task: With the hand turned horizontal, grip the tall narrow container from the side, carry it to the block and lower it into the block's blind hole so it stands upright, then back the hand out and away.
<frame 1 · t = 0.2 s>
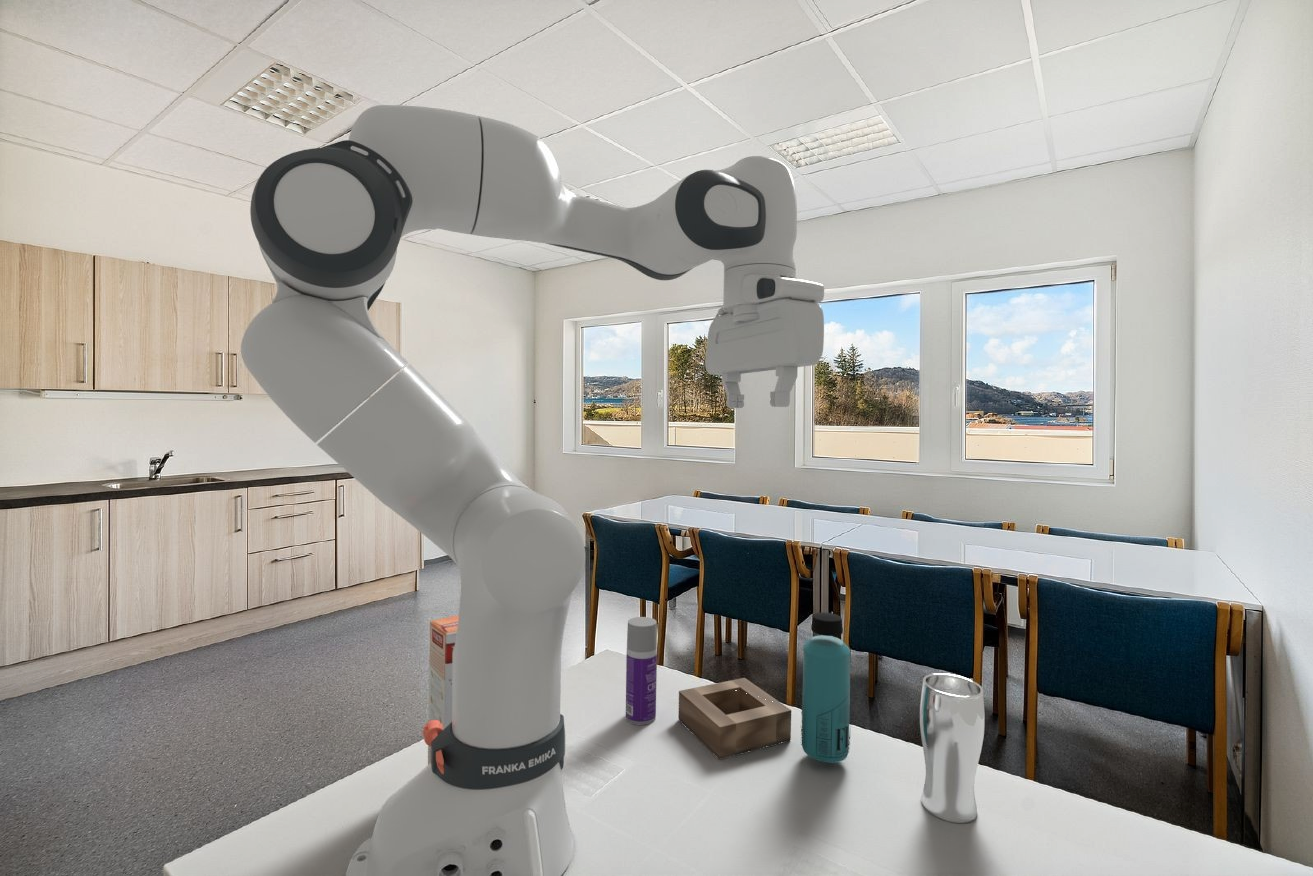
hand: (756, 407, 77), 48 cm above the table, tool pointing down, fingers open, 8 cm apart
beverage bottle: (824, 762, 83), on the table
socket block: (732, 730, 91), on the table
cracker box: (489, 777, 79), on the table
beer glass: (948, 808, 74), on the table
container: (640, 718, 95), on the table
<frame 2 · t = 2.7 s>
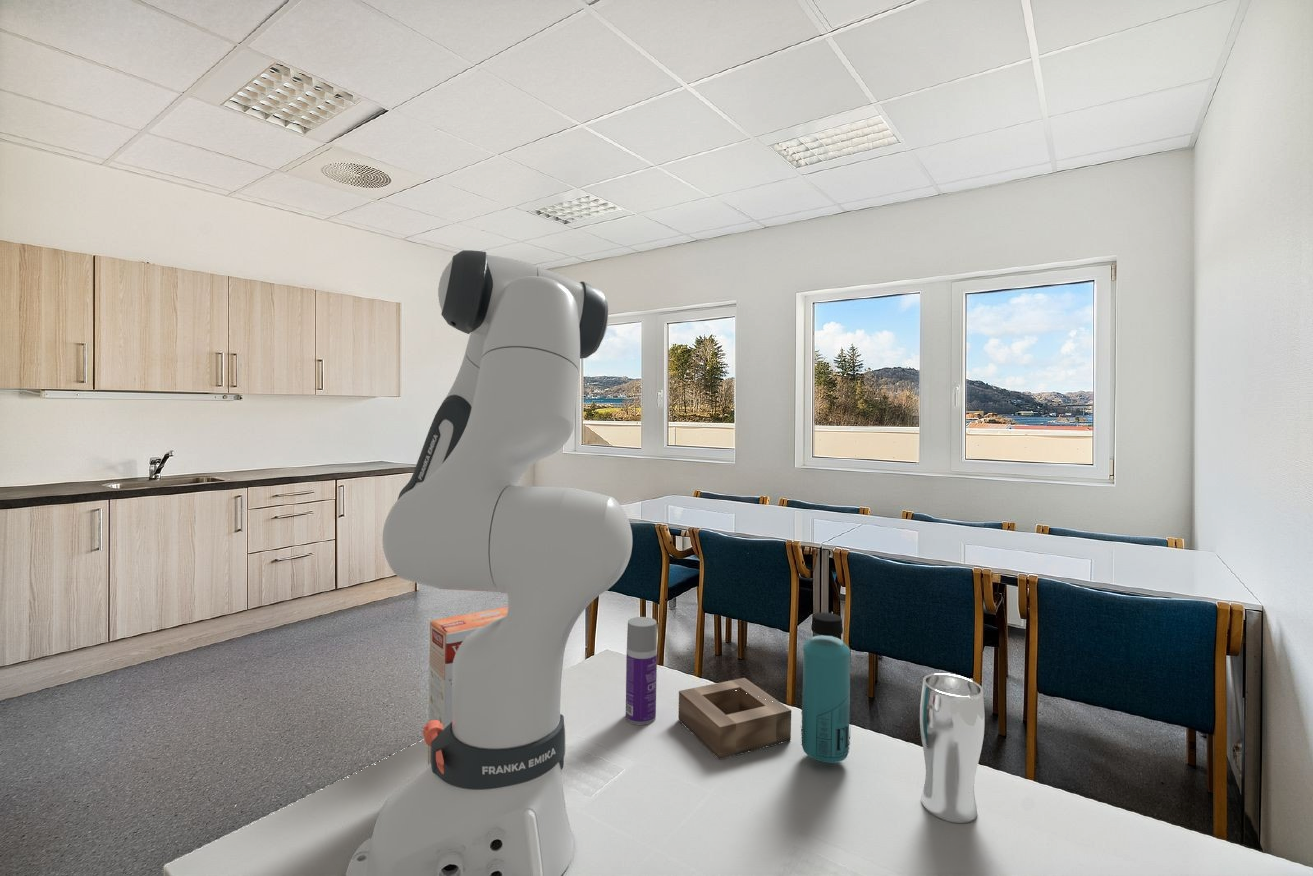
hand: (580, 551, 99), 25 cm above the table, tool horizontal, fingers open, 8 cm apart
nothing on the table moved.
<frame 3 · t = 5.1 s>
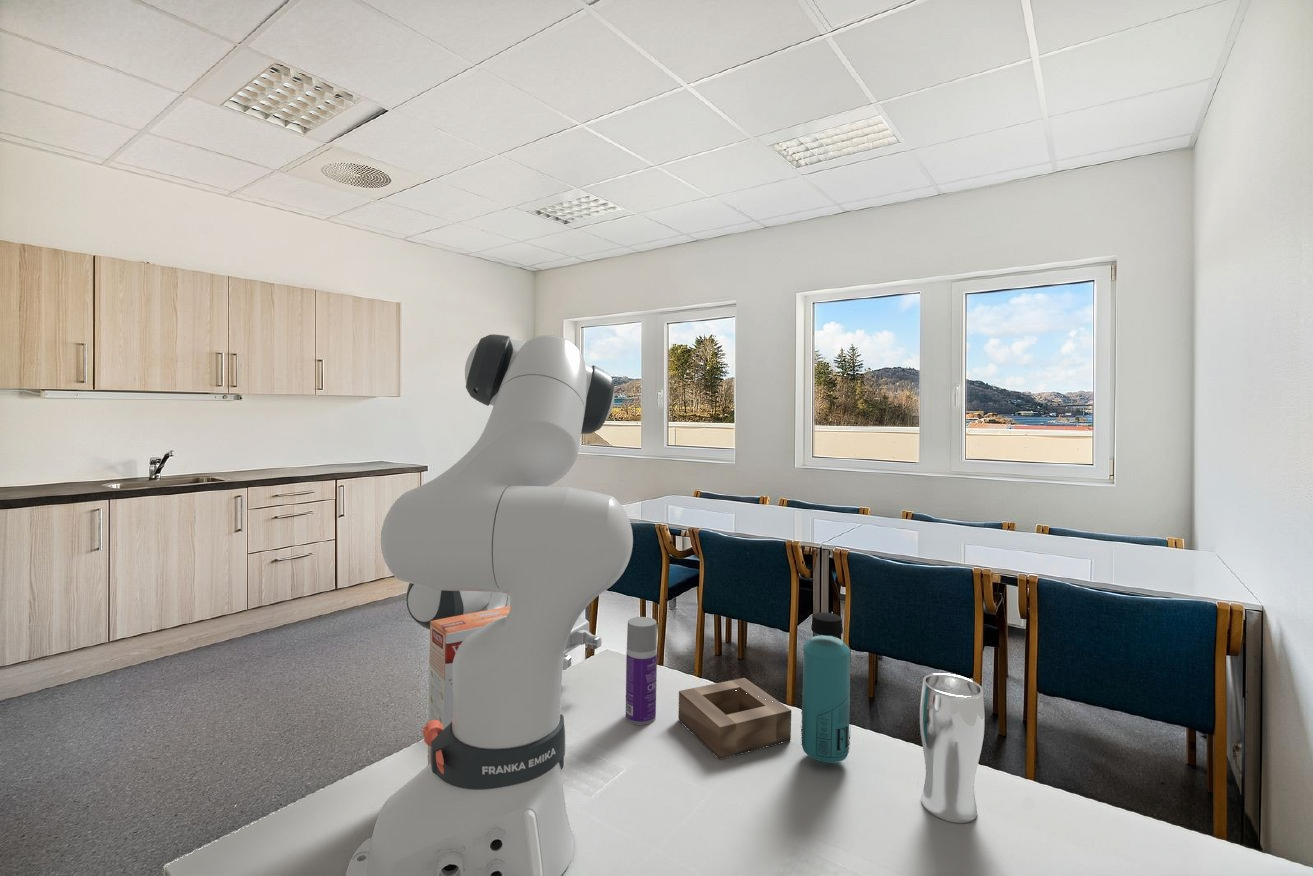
hand: (584, 652, 98), 8 cm above the table, tool horizontal, fingers open, 8 cm apart
nothing on the table moved.
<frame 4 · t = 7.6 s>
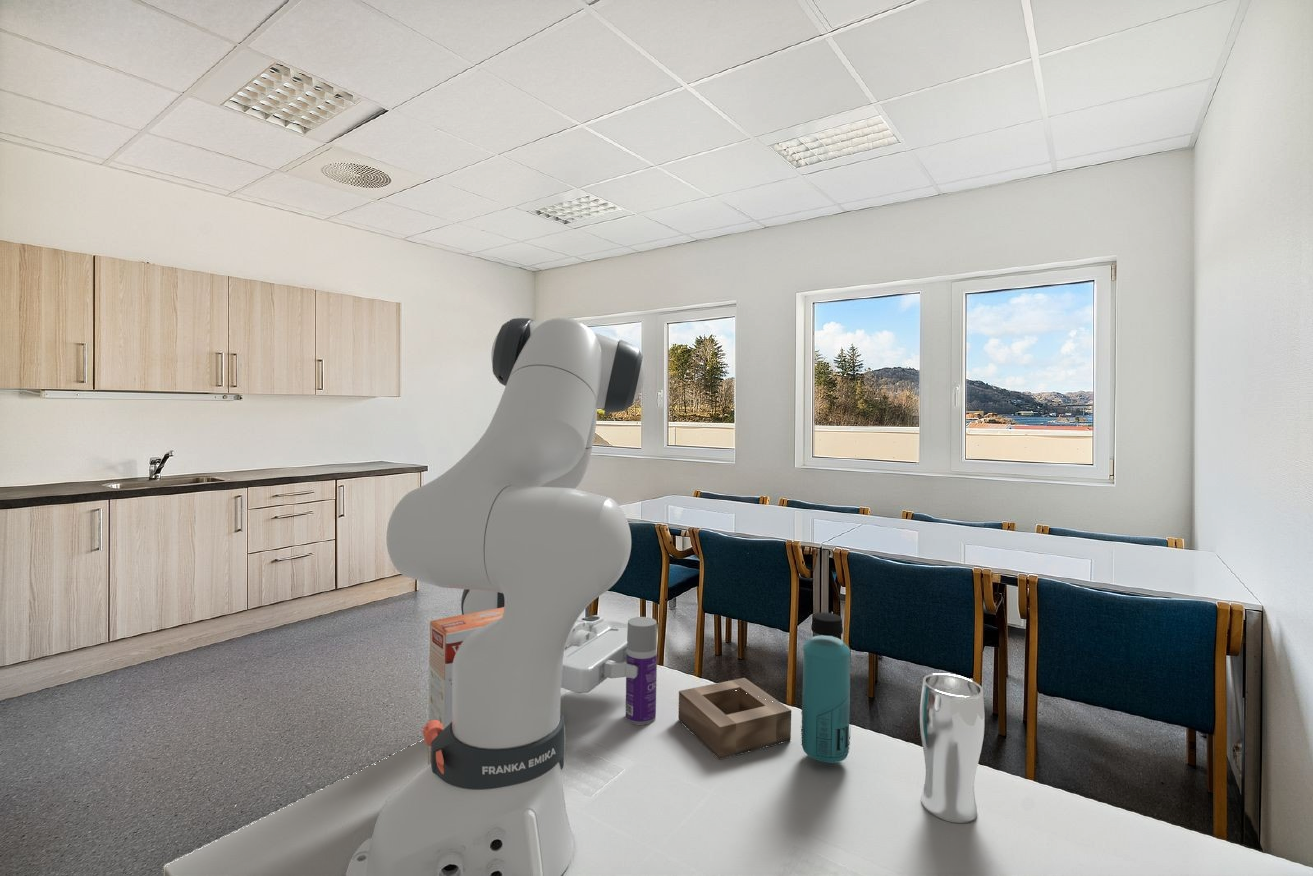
hand: (646, 664, 94), 9 cm above the table, tool horizontal, fingers closed on container, 5 cm apart
container: (640, 718, 95), on the table, touching gripper
everything else where it was.
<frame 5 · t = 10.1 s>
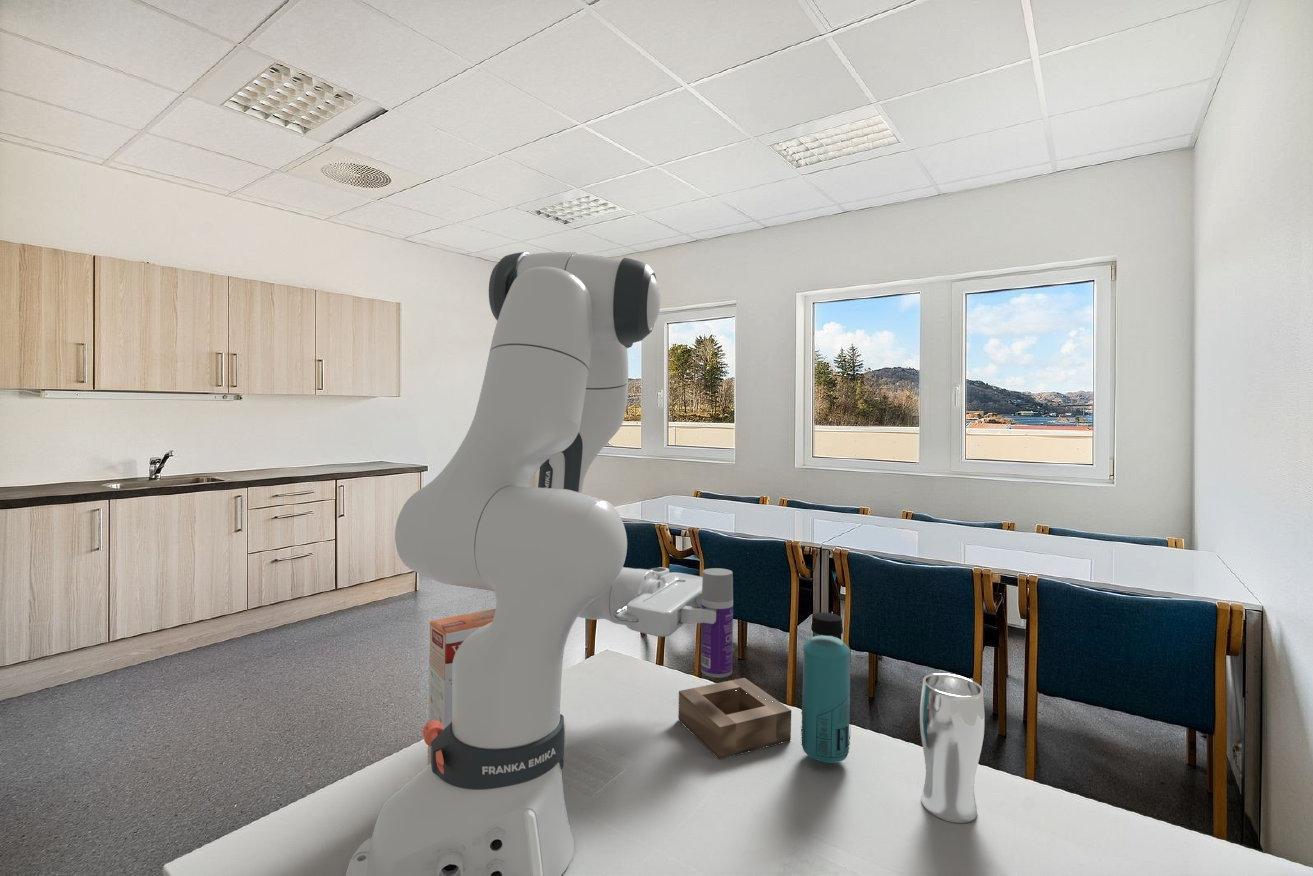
hand: (723, 610, 91), 18 cm above the table, tool horizontal, fingers closed on container, 5 cm apart
container: (716, 672, 92), point 8 cm above the table, touching gripper
everything else where it was.
when the fingers open (10 cm above the table, at t = 12.6 s): container stays where it is, resting on socket block.
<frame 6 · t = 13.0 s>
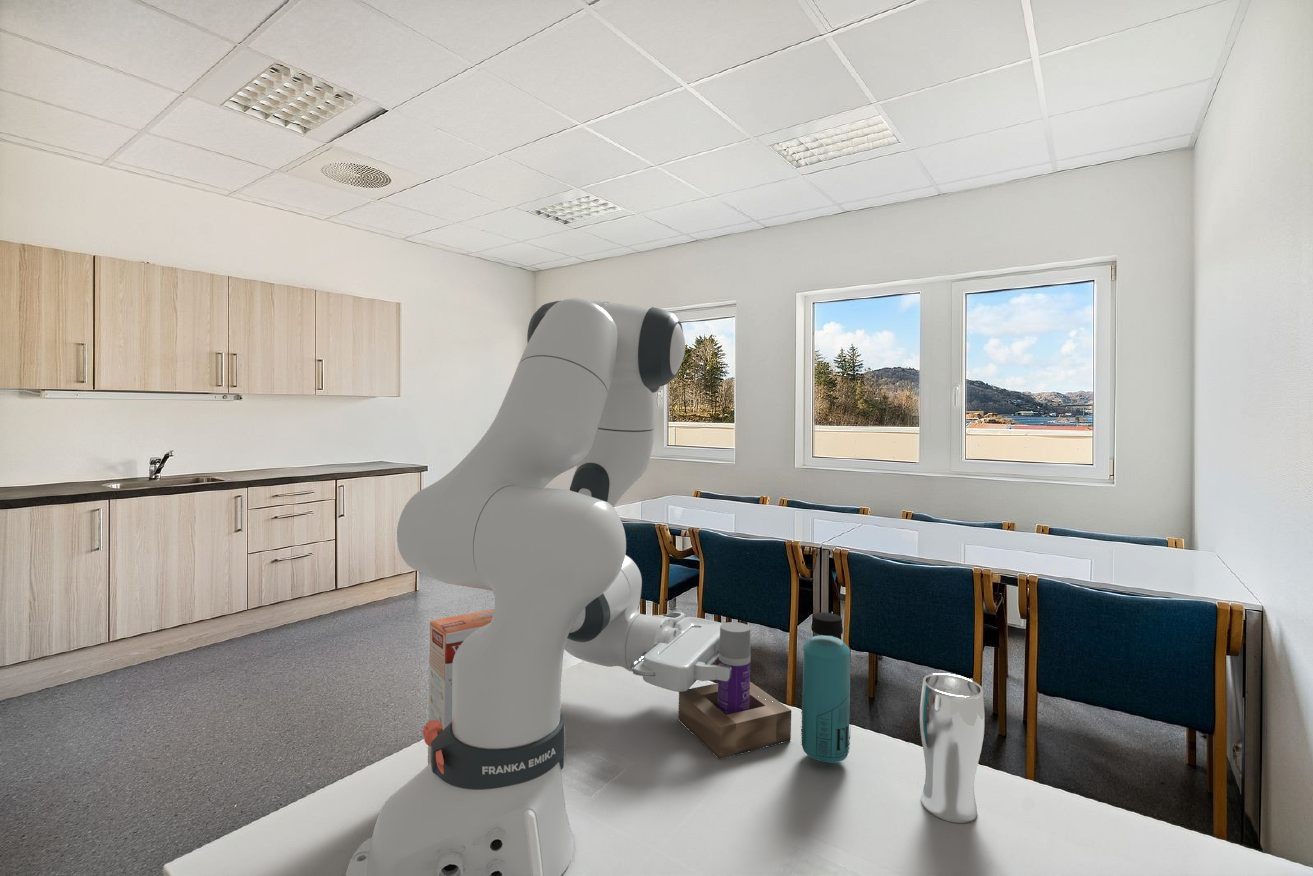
hand: (739, 661, 90), 10 cm above the table, tool horizontal, fingers open, 8 cm apart
container: (732, 728, 91), resting on socket block
everything else where it was.
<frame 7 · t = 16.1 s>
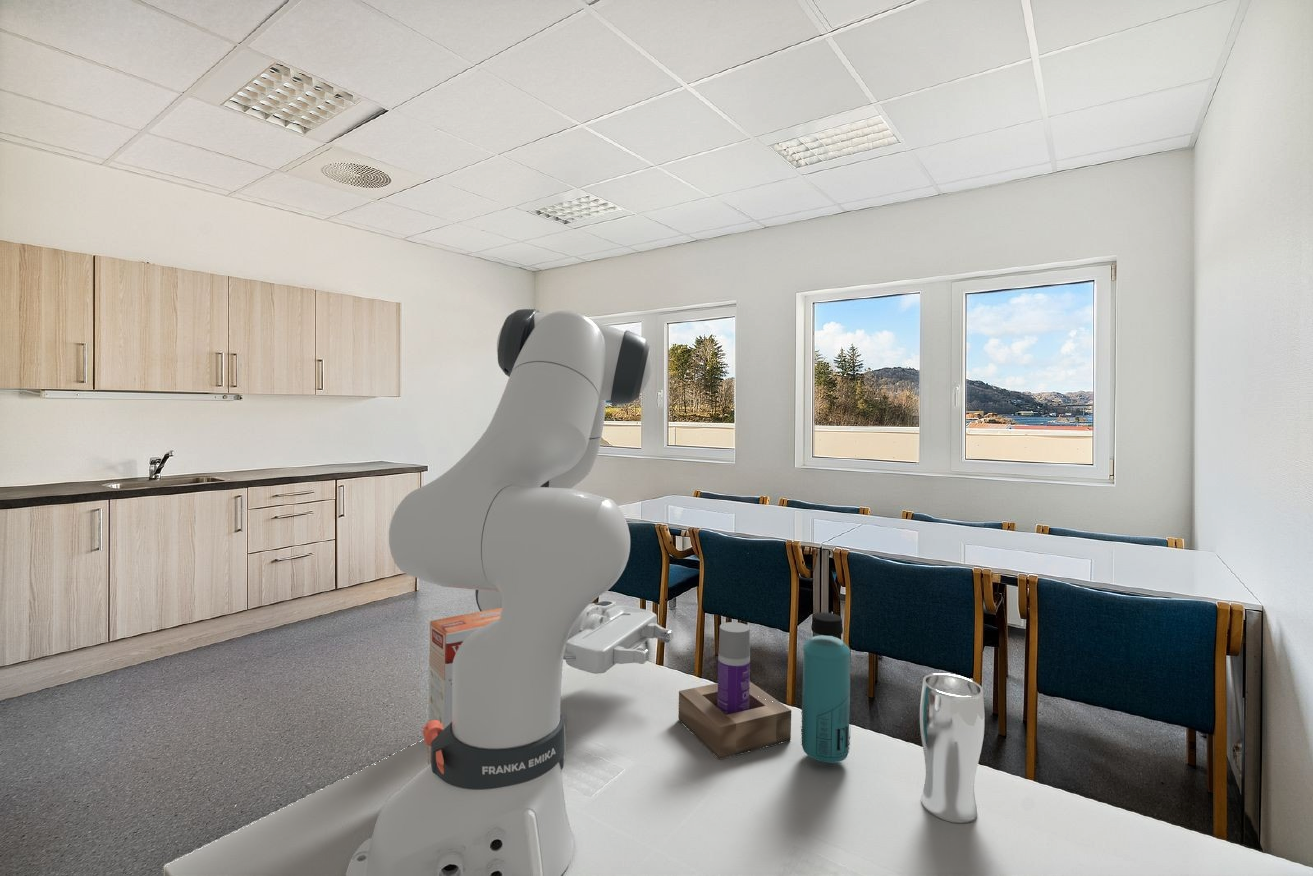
hand: (659, 646, 96), 11 cm above the table, tool horizontal, fingers open, 8 cm apart
nothing on the table moved.
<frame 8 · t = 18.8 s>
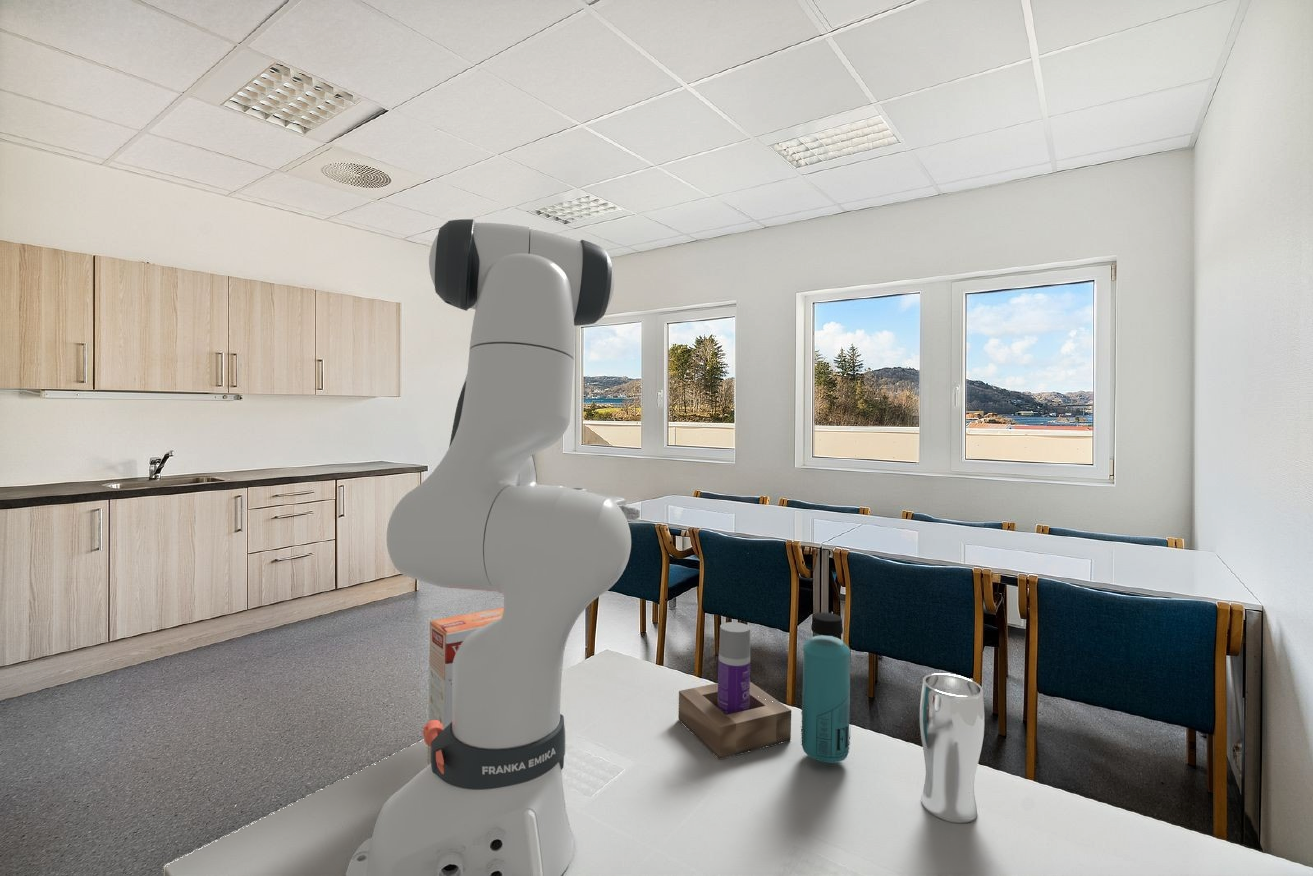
hand: (625, 518, 99), 30 cm above the table, tool horizontal, fingers open, 8 cm apart
nothing on the table moved.
at the end: container 0.0 cm off-centre on the socket block, point 0.3 cm above the socket block's base; container tilted 0°; the gripper is holding nothing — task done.
